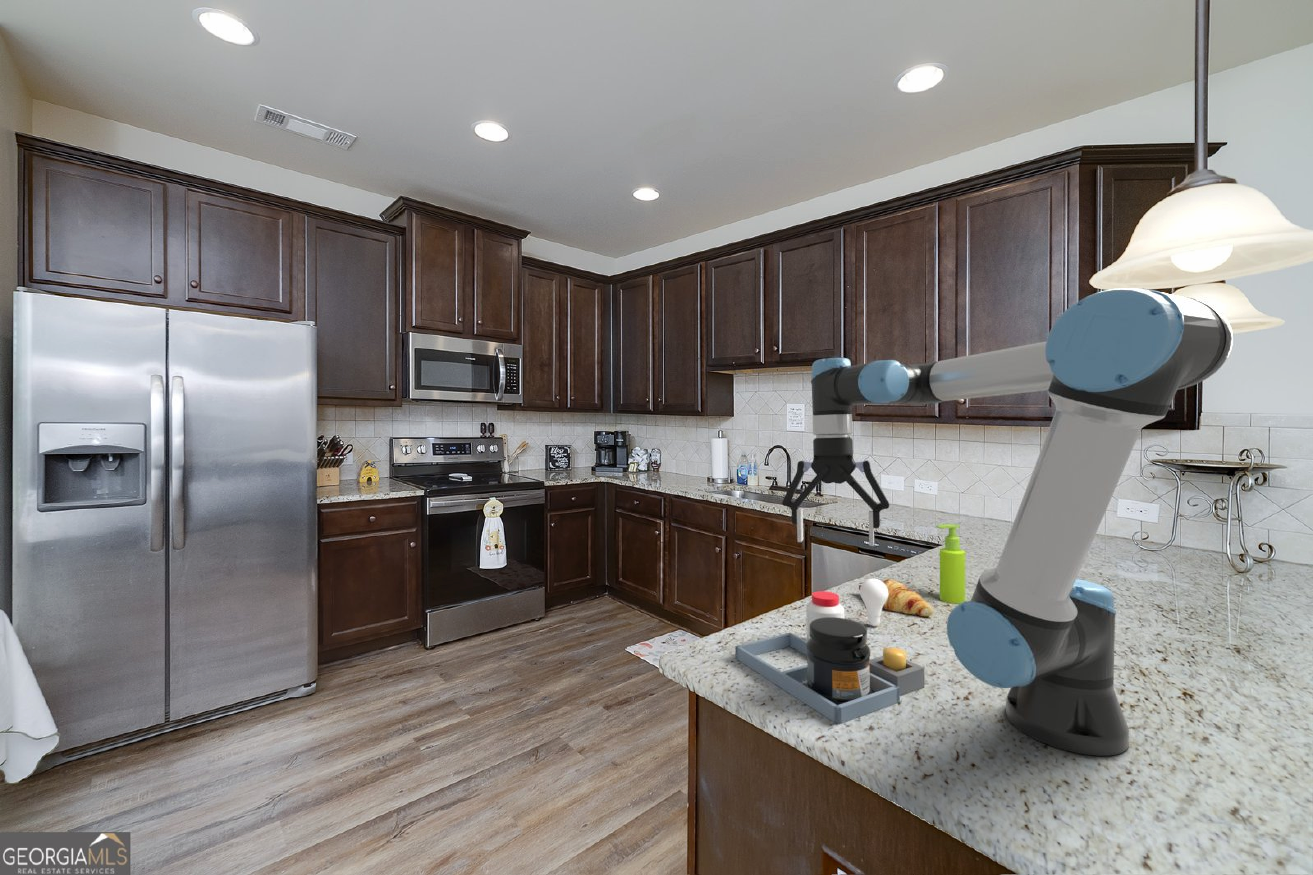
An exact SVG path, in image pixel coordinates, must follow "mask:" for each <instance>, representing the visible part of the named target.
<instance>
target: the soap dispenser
mask: <svg viewBox="0 0 1313 875" xmlns="http://www.w3.org/2000/svg"><path fill="white" fill-rule="evenodd" d="M935 527H936V528H938V529H941V530H943V529H948V535H946V536H945V537H944V538H945V539H944V544H945V545H944V548H943V547H942V548H940V549H939V600H940V601H942V602H944V603H949V604H957V605H959V604H960V603H963V602H966V551H964V550H963V549H960V548H961V544H960V543H961V541H960V540H961V538H960V537H959V536H957V529H960V527H961V526H960V525H958V524H955V523H945V524H939V525H936V526H935Z"/></svg>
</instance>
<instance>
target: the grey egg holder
mask: <svg viewBox="0 0 1313 875" xmlns="http://www.w3.org/2000/svg"><path fill="white" fill-rule="evenodd" d="M870 673H872V674H874V675H876V676H878V677H880V678H882V679H884V680H886V681H888V682H890V683H892V684H894V685H896V686H898V687H900V697H901V696H904V695H907V694H909V693H912V692H914V691H918V690H920V689H924V688H925V667H924V666H921V665H919V664H916V663H914V662H912V661H910V660H908V659H906V669H904V670H901V671H898V672H895V671H893V670H891V669H889V668H887V667H885V666H883V655H880V656H877V657H873V658H871V659H870Z"/></svg>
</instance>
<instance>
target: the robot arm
mask: <svg viewBox="0 0 1313 875" xmlns="http://www.w3.org/2000/svg"><path fill="white" fill-rule="evenodd" d="M1233 342H1234V336H1233V329H1232V327H1231V325H1230V322H1229V320H1228V319H1227V318H1226V316H1225V315H1224V314H1223V312H1221V311H1220V310H1219V309H1218V308H1217V307H1214V306H1213V305H1211V304H1210V303H1207V302H1205V301H1203V300H1200V299H1195V298H1192V297H1187V296H1180V295H1175V294H1169V293H1166V292H1162V291H1161V292H1160V291H1158V290H1151V289H1147V288H1144V287H1142V288H1113V289H1111V288H1110V289H1106V290H1102V291H1099V292H1098V291H1097V292H1096V293H1092V294H1090V295H1087V296H1086V297H1084V298H1082V299H1081V300H1078V301H1077V302H1075V303H1074V304H1072V305H1071V306H1069V307H1068V308H1067V309H1066V310H1065V311H1064V312H1063V313H1061V315H1059V317H1058V318H1057V319H1056V321H1055V322H1054V324H1053V325H1052V326H1051V329H1050V331H1049V333H1048V335H1047V337H1046V341H1042V342H1041V341H1040V342H1035V343H1031V344H1026V345H1020V346H1014V347H1009V348H1003V349H998V350H992V351H987V352H982V353H977V354H972V355H965V356H959V357H955V358H950V359H949V358H948V359H944V360H939V361H932V362H927V363H926V362H925V363H920V364H904V363H903V364H902V363H900V362H899V361H898V360H894V359H887V360H886V359H885V360H884V359H883V360H878V359H877V360H874V361H871V362H866V363H861V364H856V365H852V364H851V363H852V362H851V360H850V359H849V358H845V357H828V358H821V359H817V360H815V361H814V362H813V363H812V365H811V366H812V367H811V379H810V384H811V399H812V400H811V404H812V435H813V436H815V438H813V441H812V443H813V446H812V448H813V451H812V453H813V460H812V462H811V461H810V462H809V461H804V460H800V461H798V462H797V466H796V467H797V468H796V473H795V475H794V476H793V479H792V481H791V482H790V485H789V487H788V490H787V491H786V494H785V495H784V497H783V500H782V501H781V505H782V506H784V507H788V508H789V509H790V510H791V524H792V525H793V526H794V525H795V526H796V530H797V531H796V533H797V536H796V537H797V538H796V540H797V543H802V542H803V541H804V512H803V510H804V509H803V508H802V507H800V506H801V505H802V503H803V502H804V501H805V500H806V499H807V498H808V497H809V495H811V493H812V492H813V491H814V489H815V488H816V487H817V486H818V485H819V483H821V482H823V483H824V484H832V483H833V484H837V485H838V484H841V485H842V484H843V483H845V482H846V483H847V484H848V485H849V486H850V487H851V488H852V489H853V490H854V491H855V493H856V494H857V495H858V496H859V497H860V498H861V499H862V500H863V501H864V503H866V505H868V507H869V508H870V509H871V510H870V509H869V510H868V544H869V546H870V547H874V545H875V534H874V533H875V529H880V526H881V519H880V518H881V516H880V515H881V511H884V510H887V509H889V507H890V502H889V500H888V498H887V497H886V495H885V493H884V491H883V489H882V488H881V486H880V485H879V482H878V480H877V479H876V477H875V475H874V473H873V472H872V466H871V461H869V460H867V459H866V460H864V461H857V462H855V460H854V448H853V447H854V446H853V444H854V443H853V441H854V440H853V438H852V437H850V435H852V434H853V411H852V409H853V406H857V405H858V406H859V405H895V404H896V405H897V404H898V405H899V404H900V405H905V404H909V405H911V404H912V405H922V406H923V405H924V406H925V405H934V404H940V403H943V402H946V401H948V402H949V401H958V400H967V399H978V398H986V397H987V398H988V397H995V396H996V397H997V396H1007V395H1015V394H1023V393H1024V394H1025V393H1035V392H1044V391H1047V395H1048V396H1049V397H1050V399H1051V400H1052V402H1053V403H1054V405H1055V412H1054V415H1053V417H1052V420H1051V422H1050V425H1049V429H1048V431H1047V433H1046V436H1045V438H1044V441H1043V444H1042V447H1041V450H1040V452H1039V455H1038V458H1037V459H1036V463H1035V465H1034V468H1033V471H1032V472H1031V476H1030V479H1029V481H1028V483H1027V487H1026V488H1025V492H1024V494H1023V497H1022V500H1021V501H1020V504H1019V506H1018V507H1019V508H1018V510H1017V513H1016V516H1015V519H1014V521H1013V524H1012V526H1011V529H1010V531H1009V534H1008V536H1007V539H1006V542H1005V545H1004V548H1003V550H1002V553H1001V555H1000V558H999V560H998V563H997V566H996V567H993V568H990V569H986V570H984V571H982V572H981V574H980V576H979V578H978V580H977V583H976V586H975V588H974V591H973V595H972V598H971V599H970V600H967V601H966V600H965V602H963V603H960V604H957V606H955V607H954V608H953V609H952V610H951V611H950V612H949V613H948V617H947V621H946V633H947V639H948V641H949V645H950V646H951V647H952V649H953V651H954V655H955V657H956V658H957V660H958V661H959V663H960V664H961V665H962V667H964V669H966V670H967V672H968V673H969V674H970V675H972V676H973V677H974V678H976V679H977V680H979V681H981V682H983V683H984V684H987V685H988V686H991V687H994V688H999V689H1000V688H1001V689H1009V690H1008V693H1007V696H1006V697H1005V698H1006V699H1005V715H1006V718H1007V719H1008V721H1009V722H1010V723H1011V724H1012V725H1013V726H1014V727H1015V728H1017V729H1018V730H1019V731H1021V732H1022V733H1024V734H1025V735H1027V736H1029V737H1031V738H1033V739H1034V740H1037V741H1039V742H1041V743H1044V744H1046V745H1048V746H1052V747H1055V748H1057V749H1060V750H1064V751H1066V752H1067V751H1068V752H1072V753H1076V754H1082V755H1088V756H1099V757H1100V756H1101V757H1102V756H1103V757H1104V756H1105V757H1106V756H1108V757H1109V756H1115V755H1119V754H1122V753H1124V752H1126V751H1127V750H1128V748H1129V745H1130V729H1129V726H1128V723H1127V720H1126V718H1125V715H1124V712H1123V710H1122V707H1121V704H1120V702H1119V699H1118V695H1117V694H1116V690H1115V686H1114V685H1115V684H1114V683H1115V682H1114V678H1115V677H1114V676H1115V674H1114V673H1115V632H1116V631H1115V630H1116V616H1117V611H1116V609H1115V598H1114V595H1113V592H1112V591H1111V590H1110V589H1108V588H1107V587H1105V586H1103V585H1102V584H1098V583H1095V582H1092V581H1087V580H1084V579H1079V578H1078V576H1079V574H1080V572H1081V569H1082V567H1083V565H1084V562H1085V560H1086V558H1087V555H1088V553H1089V550H1090V548H1091V547H1092V546H1091V545H1092V544H1093V541H1094V539H1095V536H1096V534H1097V532H1098V530H1099V528H1100V525H1101V523H1102V520H1103V519H1104V516H1105V514H1106V511H1107V509H1108V506H1109V504H1110V502H1111V499H1112V497H1113V496H1114V492H1115V490H1116V488H1117V486H1118V484H1119V481H1120V479H1121V476H1122V475H1123V472H1124V470H1125V467H1126V464H1127V463H1128V460H1129V458H1130V455H1131V454H1132V451H1133V449H1134V446H1135V444H1136V443H1137V439H1138V437H1139V435H1140V432H1141V430H1142V428H1144V427H1146V426H1147V425H1149V424H1152V423H1155V422H1157V421H1160V420H1162V419H1164V418H1165V417H1166V415H1167V413H1168V411H1169V409H1170V407H1171V404H1172V402H1173V400H1174V398H1175V396H1176V394H1177V391H1178V390H1183V389H1186V388H1189V387H1193V386H1195V385H1197V384H1199V383H1202V382H1204V381H1205V380H1207V379H1209V378H1210V377H1212V376H1213V375H1214V374H1216V373H1217V372H1218V370H1220V369H1221V368H1222V366H1223V365H1224V364H1225V362H1226V361H1227V360H1228V358H1229V355H1230V353H1231V351H1232V348H1233ZM856 468H858V471H860V472H861V473H864V475H865V478H866V480H867V481H868V483H869V485H870V486H871V488H872V490H873V493H874V494H875V496H876V497H877V499H878V501H879V503H877V502H876V501H875V500H874V499H873V498H872V496H871V495H870V494H869V493H868V492H867V491H866V490H865V489H864V488H863V486H862V485H861V484H860V483H859V482H858V481H857V480H856V478H854V476H853V475H852V473H854V471H855V469H856ZM809 469H812V471H813V473H815V477H814V478H812V480H811V481H810V483H809V484H808V485H807V486H806V487H805V488H804V490H803V491H801V493H800V494H799V496H798V497H797V498H796V499H795V500H794V501H793V497H794V495H795V493H796V491H797V490H798V487H799V485H800V483H801V481H802V480H803V477H804V474H805V473H806V472H808V471H809ZM799 507H800V508H799Z"/></svg>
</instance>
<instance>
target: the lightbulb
mask: <svg viewBox="0 0 1313 875" xmlns="http://www.w3.org/2000/svg"><path fill="white" fill-rule="evenodd" d="M860 585H861V587H860V591H859V595H860V598H861V599H862V602H864V606H865V608H866V609H865V610H866V614H867V623H868V624H869V625H871V626H872V627H877V626H880V624H881V623H880V622H881V616H882V611H883V608H882V607H883V605H884V603H885V602H886V600H887V598H888V589H887V587H886V585H885V584H884V583H883V581H881V580H880V579H877V578H868V579H866V580H864V581H863V582H862V583H861V584H860Z"/></svg>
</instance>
